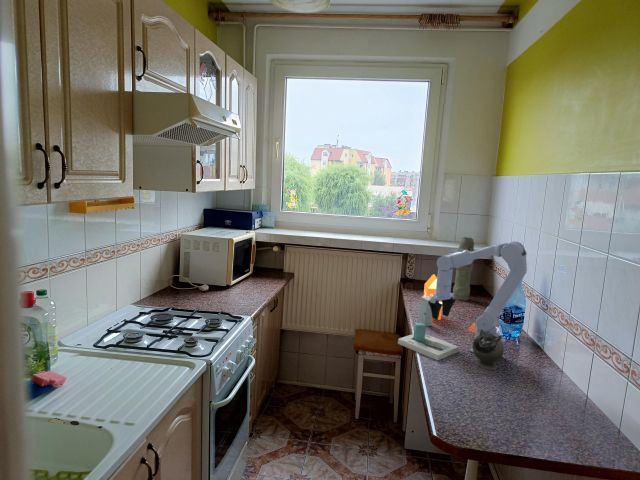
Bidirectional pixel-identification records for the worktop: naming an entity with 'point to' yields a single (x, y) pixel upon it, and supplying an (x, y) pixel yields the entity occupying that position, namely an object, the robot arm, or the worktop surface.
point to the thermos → (463, 273)
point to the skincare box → (425, 311)
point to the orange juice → (432, 290)
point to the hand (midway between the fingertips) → (440, 317)
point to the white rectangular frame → (421, 348)
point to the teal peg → (419, 332)
